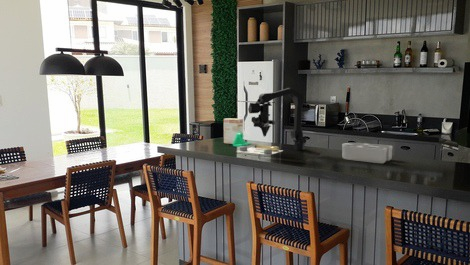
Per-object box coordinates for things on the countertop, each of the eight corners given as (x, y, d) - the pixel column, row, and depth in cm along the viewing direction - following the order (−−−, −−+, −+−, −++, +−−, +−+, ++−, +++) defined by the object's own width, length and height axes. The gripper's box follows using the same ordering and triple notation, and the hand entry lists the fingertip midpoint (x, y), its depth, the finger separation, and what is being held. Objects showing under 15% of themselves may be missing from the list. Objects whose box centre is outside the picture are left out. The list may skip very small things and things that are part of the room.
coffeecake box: (243, 143, 315) (243, 118, 312) (237, 145, 310) (237, 119, 307) (229, 142, 325) (229, 117, 323) (223, 143, 320) (223, 118, 317)
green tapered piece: (240, 148, 294) (240, 134, 293) (232, 147, 299) (232, 133, 298) (251, 146, 303) (251, 132, 302) (243, 145, 308) (243, 132, 307)
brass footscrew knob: (280, 150, 273) (280, 146, 273) (276, 151, 268) (276, 147, 268) (256, 148, 283) (256, 143, 283) (252, 149, 278) (252, 145, 278)
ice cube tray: (383, 164, 234) (383, 149, 233) (337, 159, 251) (337, 145, 250) (392, 159, 247) (392, 145, 245) (348, 155, 264) (348, 142, 263)
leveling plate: (283, 152, 273) (283, 146, 272) (269, 157, 257) (269, 150, 257) (250, 149, 287) (250, 143, 287) (235, 153, 272) (235, 147, 271)
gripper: (260, 111, 278) (260, 134, 280) (246, 113, 262) (246, 137, 264) (275, 111, 272) (275, 135, 274) (261, 114, 256) (261, 138, 258)
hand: (264, 136), depth 268 cm, fingers closed
